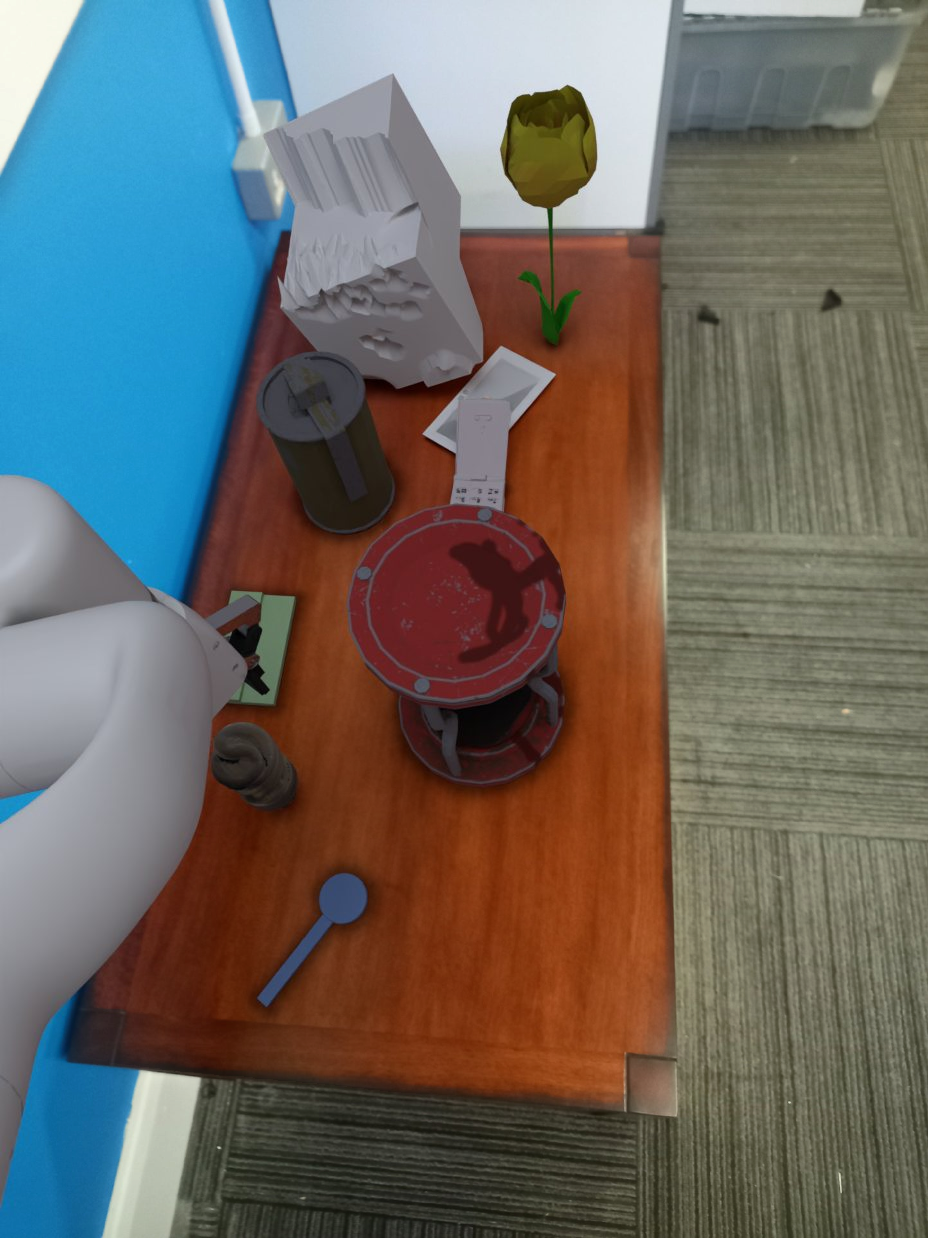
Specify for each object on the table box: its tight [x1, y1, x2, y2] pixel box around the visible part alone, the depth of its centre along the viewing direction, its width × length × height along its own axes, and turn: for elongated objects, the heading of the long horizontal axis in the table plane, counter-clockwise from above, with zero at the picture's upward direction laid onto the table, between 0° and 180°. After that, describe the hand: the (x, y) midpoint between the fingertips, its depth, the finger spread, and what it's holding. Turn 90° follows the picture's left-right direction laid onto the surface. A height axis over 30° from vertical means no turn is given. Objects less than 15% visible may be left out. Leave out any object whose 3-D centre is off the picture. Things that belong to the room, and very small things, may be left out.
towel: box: [224, 590, 298, 707], centre depth 92 cm, size 12×7×1 cm, turn 174°
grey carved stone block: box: [262, 73, 484, 390], centre depth 97 cm, size 20×16×25 cm
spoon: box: [256, 872, 369, 1008], centre depth 80 cm, size 13×4×1 cm, turn 142°
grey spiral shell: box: [210, 721, 299, 812], centre depth 79 cm, size 6×6×15 cm
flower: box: [499, 84, 598, 346], centre depth 92 cm, size 9×8×30 cm
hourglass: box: [346, 503, 567, 789], centre depth 76 cm, size 16×16×25 cm
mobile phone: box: [449, 399, 511, 512], centre depth 93 cm, size 6×6×25 cm
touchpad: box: [422, 345, 557, 454], centre depth 101 cm, size 8×15×2 cm, turn 143°
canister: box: [255, 350, 396, 535], centre depth 90 cm, size 11×10×20 cm
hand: (210, 731), depth 67 cm, fingers open, 9 cm apart
